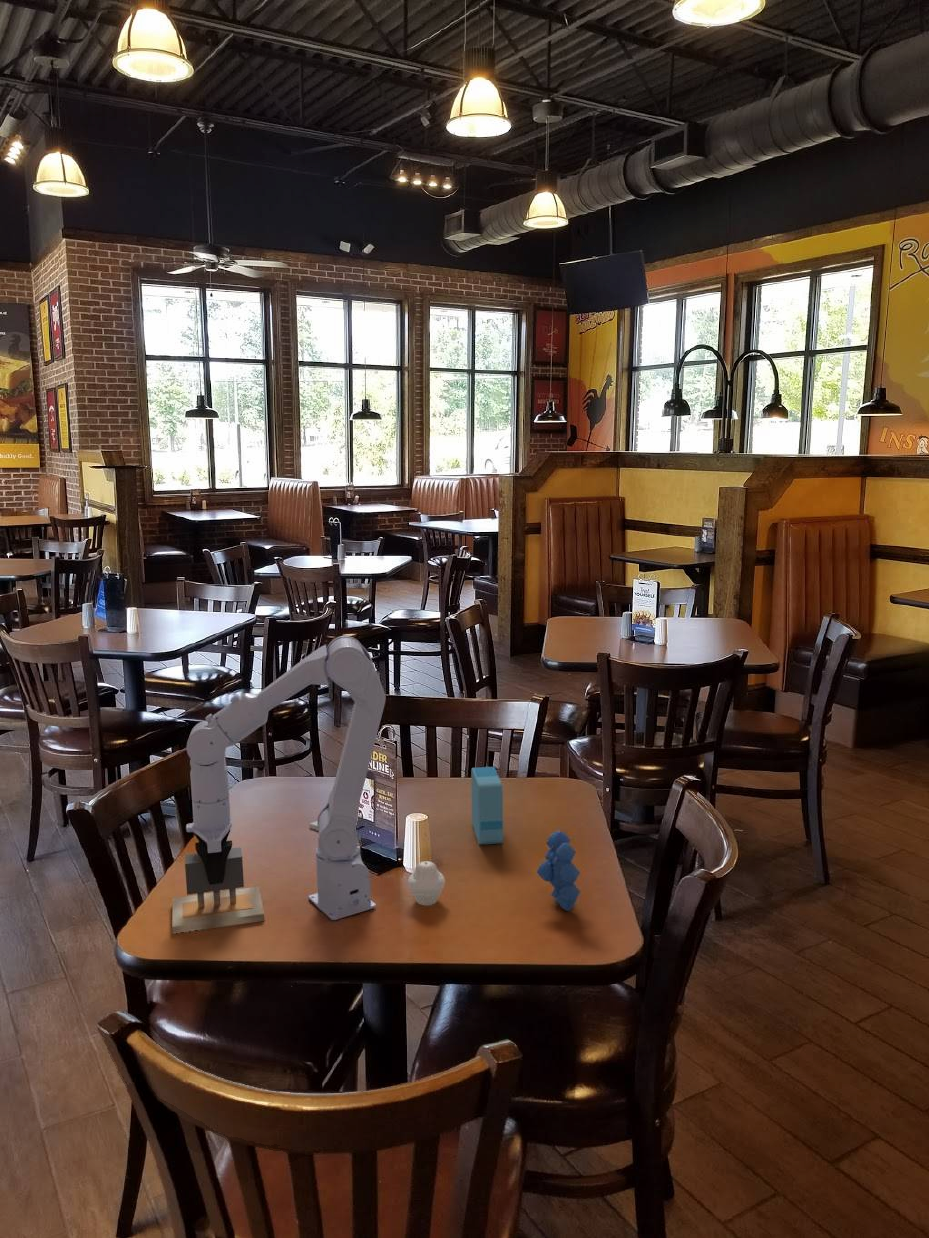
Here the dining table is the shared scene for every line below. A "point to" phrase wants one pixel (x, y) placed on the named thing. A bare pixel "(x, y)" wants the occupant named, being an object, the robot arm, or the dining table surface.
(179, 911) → the board
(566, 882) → the grapes
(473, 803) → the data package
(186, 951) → the dining table surface
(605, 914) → the dining table surface
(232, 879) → the block
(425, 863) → the muffin
